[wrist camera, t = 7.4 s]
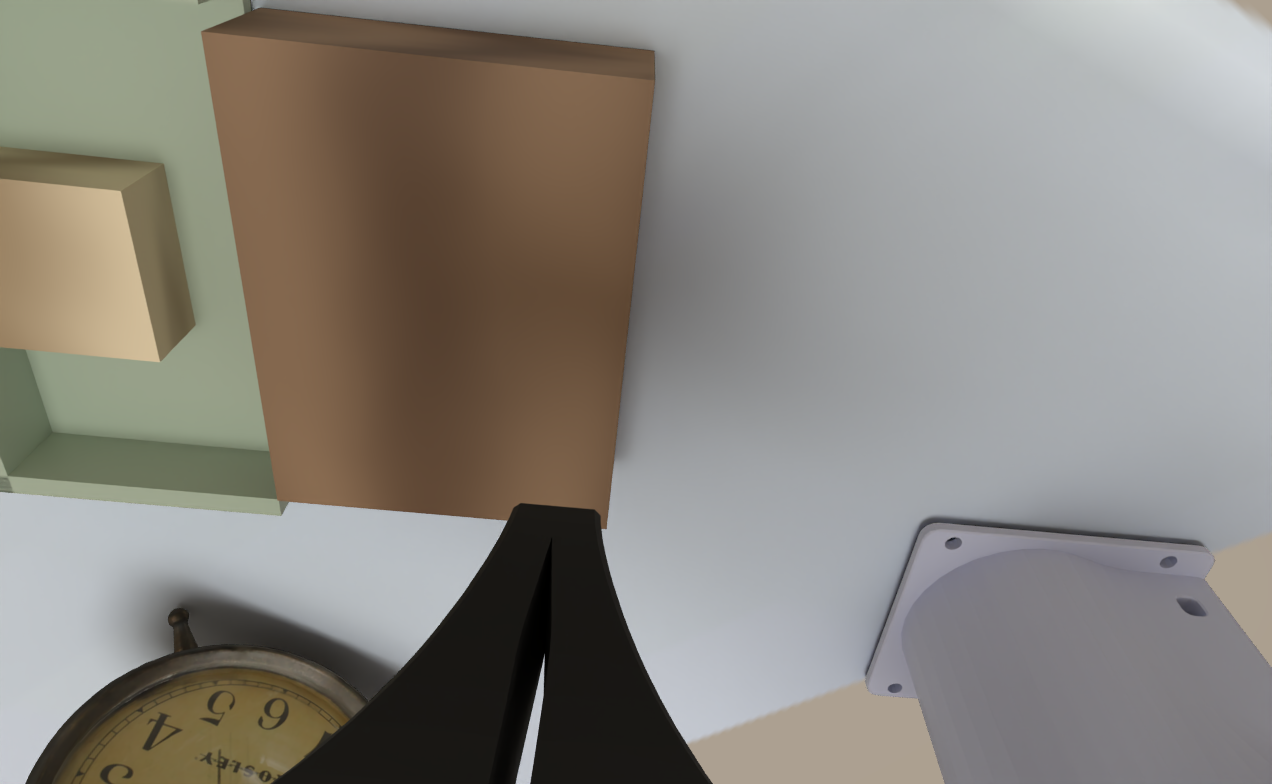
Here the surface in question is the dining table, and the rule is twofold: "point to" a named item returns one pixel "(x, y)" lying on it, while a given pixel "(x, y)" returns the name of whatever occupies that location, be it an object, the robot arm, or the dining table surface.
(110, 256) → the maple tile
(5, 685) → the dining table surface
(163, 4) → the sage tray
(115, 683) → the alarm clock
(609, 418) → the walnut board
